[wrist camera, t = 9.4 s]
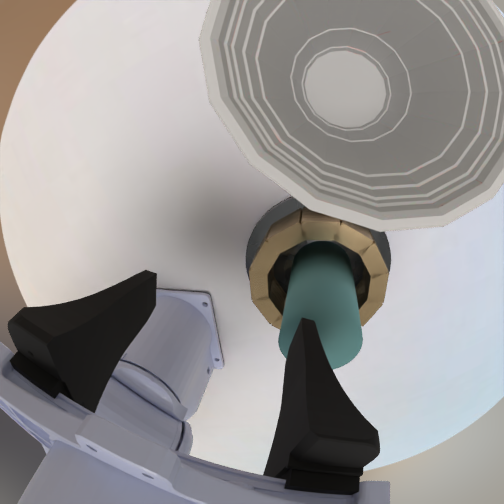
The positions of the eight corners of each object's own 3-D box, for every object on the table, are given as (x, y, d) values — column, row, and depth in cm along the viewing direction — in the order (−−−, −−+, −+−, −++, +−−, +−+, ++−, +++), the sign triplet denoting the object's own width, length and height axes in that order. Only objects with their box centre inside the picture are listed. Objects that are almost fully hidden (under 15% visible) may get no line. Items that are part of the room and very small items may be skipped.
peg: (349, 292, 22) (357, 370, 15) (293, 292, 23) (280, 369, 16) (352, 240, 20) (367, 309, 13) (290, 240, 21) (275, 309, 14)
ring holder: (378, 320, 23) (384, 347, 20) (252, 317, 25) (244, 343, 22) (396, 194, 18) (410, 209, 15) (241, 192, 21) (228, 207, 18)
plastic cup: (421, 29, 13) (516, -30, 2) (415, 174, 17) (513, 250, 7) (263, 10, 14) (202, -87, 4) (261, 157, 19) (196, 215, 9)
